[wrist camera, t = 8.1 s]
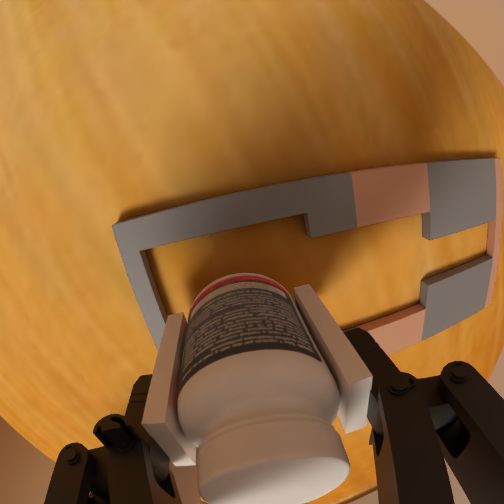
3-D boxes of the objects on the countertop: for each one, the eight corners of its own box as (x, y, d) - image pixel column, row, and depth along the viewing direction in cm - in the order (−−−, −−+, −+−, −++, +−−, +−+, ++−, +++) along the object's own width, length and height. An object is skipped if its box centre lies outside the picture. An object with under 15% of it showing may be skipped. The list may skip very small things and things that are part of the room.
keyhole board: (117, 222, 13) (111, 225, 12) (493, 157, 14) (500, 158, 13) (187, 398, 17) (186, 406, 16) (485, 300, 18) (490, 304, 17)
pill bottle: (167, 304, 13) (124, 475, 4) (264, 248, 13) (343, 403, 4) (226, 375, 15) (241, 525, 6) (311, 331, 14) (386, 474, 6)
